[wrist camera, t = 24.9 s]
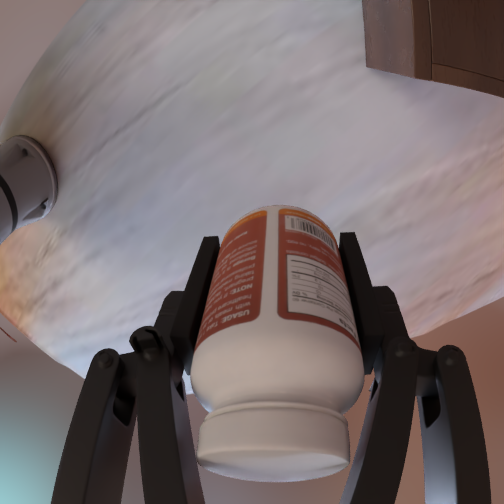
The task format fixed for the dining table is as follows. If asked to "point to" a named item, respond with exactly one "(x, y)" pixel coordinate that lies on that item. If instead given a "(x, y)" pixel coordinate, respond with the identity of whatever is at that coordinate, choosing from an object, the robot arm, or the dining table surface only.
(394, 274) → the dining table surface
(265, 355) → the pill bottle
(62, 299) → the dining table surface
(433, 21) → the brown wooden box
